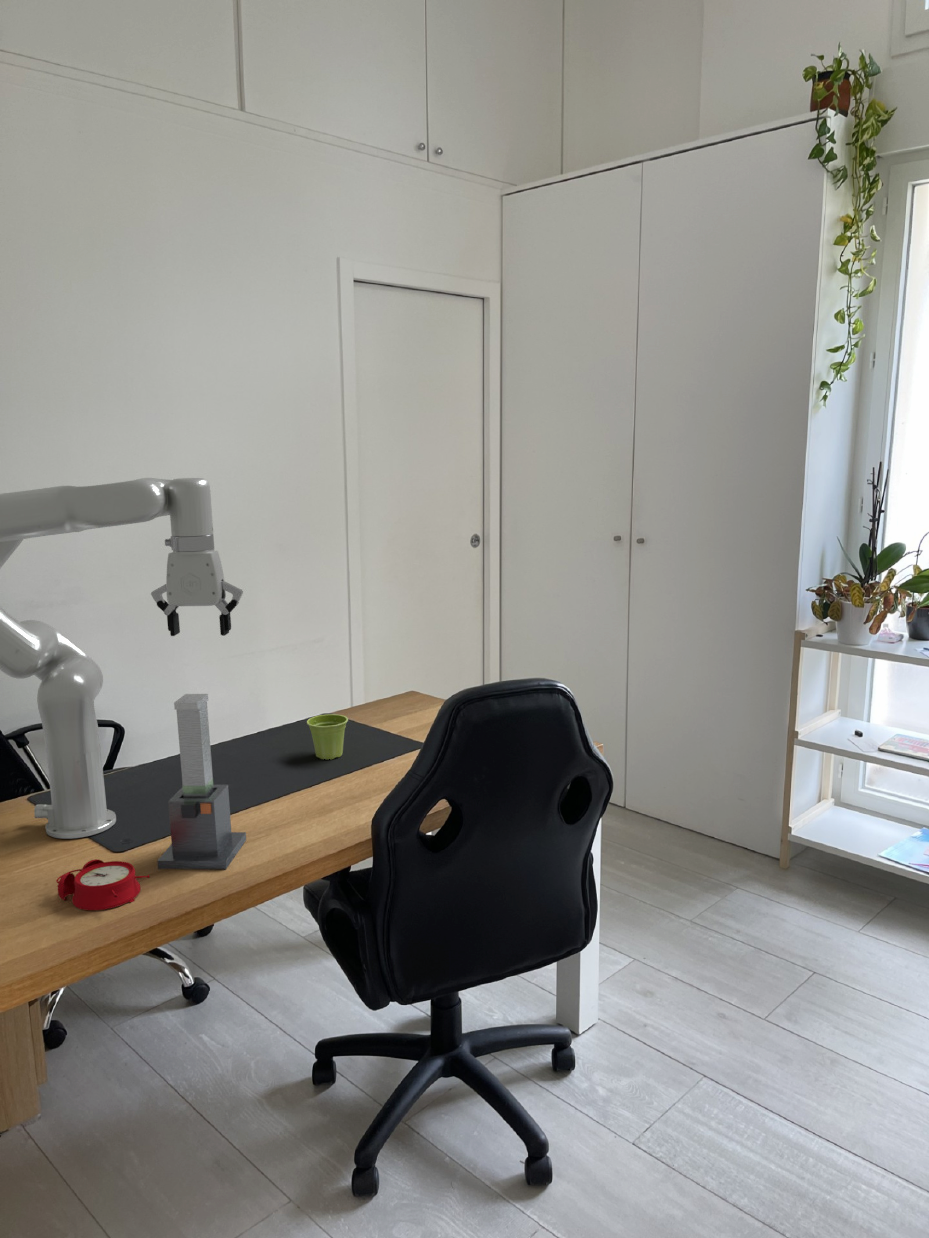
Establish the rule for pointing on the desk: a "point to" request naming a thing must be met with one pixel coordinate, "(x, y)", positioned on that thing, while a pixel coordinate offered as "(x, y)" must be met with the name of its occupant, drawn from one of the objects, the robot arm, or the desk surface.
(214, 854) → the stand base
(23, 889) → the desk surface
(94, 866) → the alarm clock
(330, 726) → the plant pot
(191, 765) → the column
